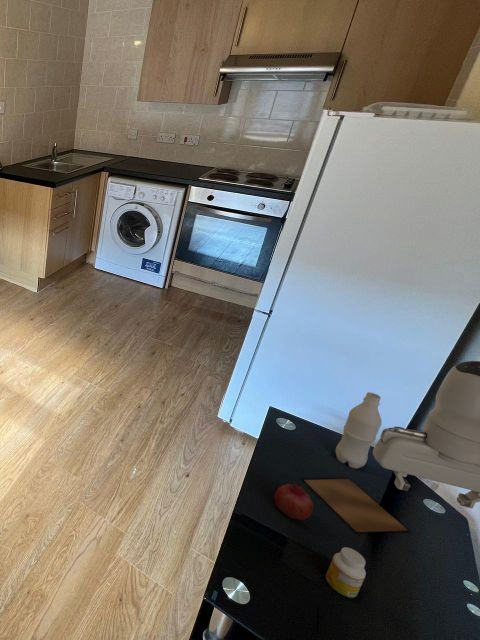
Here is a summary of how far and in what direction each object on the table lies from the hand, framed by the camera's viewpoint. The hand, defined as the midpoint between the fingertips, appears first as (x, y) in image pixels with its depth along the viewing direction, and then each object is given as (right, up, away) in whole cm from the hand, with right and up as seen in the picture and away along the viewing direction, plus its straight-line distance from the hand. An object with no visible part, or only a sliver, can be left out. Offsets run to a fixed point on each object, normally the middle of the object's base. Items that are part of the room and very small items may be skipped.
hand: (431, 496), depth 81 cm
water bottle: (+26, -17, +46) cm, 56 cm away
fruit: (-6, -22, +28) cm, 36 cm away
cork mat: (+13, -21, +31) cm, 40 cm away
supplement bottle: (-9, -27, +11) cm, 30 cm away
